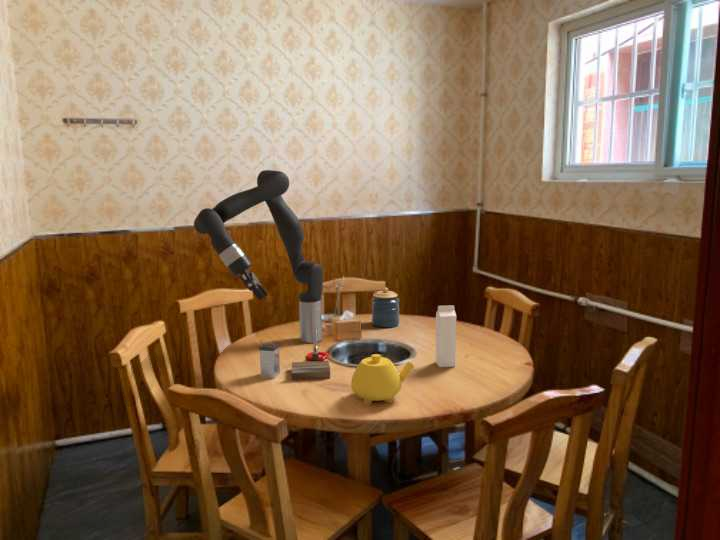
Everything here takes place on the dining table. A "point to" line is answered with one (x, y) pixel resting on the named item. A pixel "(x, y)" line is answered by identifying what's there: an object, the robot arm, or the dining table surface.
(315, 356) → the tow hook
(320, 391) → the dining table surface
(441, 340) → the milk
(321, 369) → the coupler plate
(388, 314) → the canister
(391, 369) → the teapot
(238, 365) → the dining table surface
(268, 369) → the grey rectangular container
